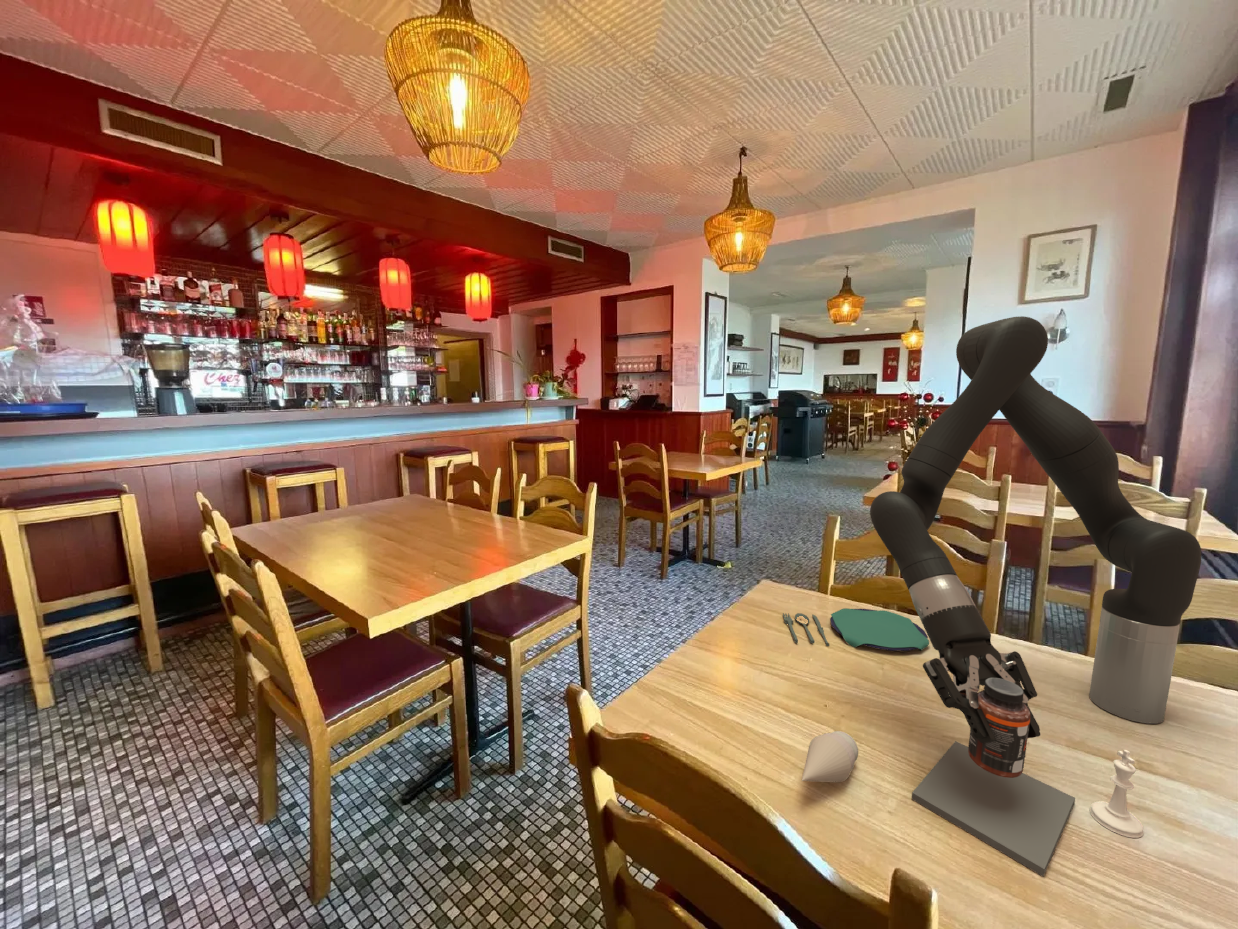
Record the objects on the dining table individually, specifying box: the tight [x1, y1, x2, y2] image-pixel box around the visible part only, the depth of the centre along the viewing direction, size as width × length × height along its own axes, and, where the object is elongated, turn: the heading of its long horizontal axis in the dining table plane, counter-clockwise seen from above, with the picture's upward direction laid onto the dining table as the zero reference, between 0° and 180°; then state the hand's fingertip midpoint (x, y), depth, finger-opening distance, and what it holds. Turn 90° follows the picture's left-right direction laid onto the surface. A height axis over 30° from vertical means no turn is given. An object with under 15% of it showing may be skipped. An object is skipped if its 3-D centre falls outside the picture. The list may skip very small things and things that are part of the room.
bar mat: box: [911, 740, 1076, 877], centre depth 67 cm, size 16×14×1 cm
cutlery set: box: [782, 607, 930, 652], centre depth 114 cm, size 20×30×2 cm, turn 80°
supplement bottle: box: [967, 678, 1030, 778], centre depth 65 cm, size 6×6×11 cm
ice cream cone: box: [801, 730, 859, 783], centre depth 70 cm, size 6×6×15 cm
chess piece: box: [1089, 749, 1145, 839], centre depth 63 cm, size 5×5×10 cm
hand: (1010, 739), depth 64 cm, fingers closed on supplement bottle, 6 cm apart
